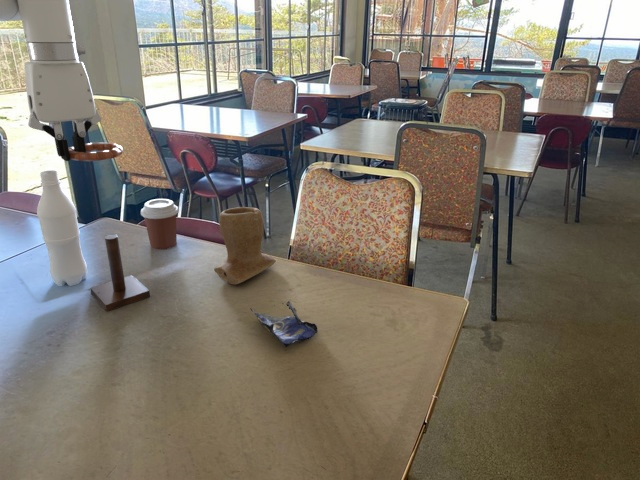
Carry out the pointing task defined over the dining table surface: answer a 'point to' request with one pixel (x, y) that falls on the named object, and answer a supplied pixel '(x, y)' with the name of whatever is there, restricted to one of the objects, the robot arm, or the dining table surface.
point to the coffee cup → (160, 222)
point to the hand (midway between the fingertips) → (73, 157)
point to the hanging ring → (106, 152)
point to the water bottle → (60, 232)
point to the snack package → (287, 327)
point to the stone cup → (242, 244)
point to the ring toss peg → (118, 281)
